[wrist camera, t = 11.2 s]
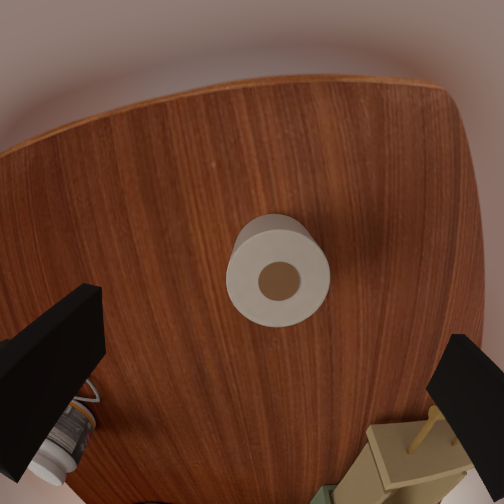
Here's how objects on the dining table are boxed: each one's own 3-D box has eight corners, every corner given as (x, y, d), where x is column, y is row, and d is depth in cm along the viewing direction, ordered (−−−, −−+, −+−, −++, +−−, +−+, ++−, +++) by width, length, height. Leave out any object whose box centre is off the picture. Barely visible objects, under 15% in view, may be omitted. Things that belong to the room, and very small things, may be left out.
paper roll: (323, 226, 21) (345, 245, 15) (299, 298, 22) (311, 337, 17) (245, 204, 21) (240, 217, 15) (225, 279, 22) (215, 314, 17)
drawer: (394, 378, 23) (427, 438, 16) (482, 373, 24) (518, 416, 16) (318, 501, 30) (324, 546, 22) (395, 493, 30) (407, 531, 22)
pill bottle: (90, 433, 28) (63, 493, 19) (51, 407, 27) (17, 463, 18) (103, 415, 27) (71, 484, 17) (59, 385, 26) (19, 449, 16)
